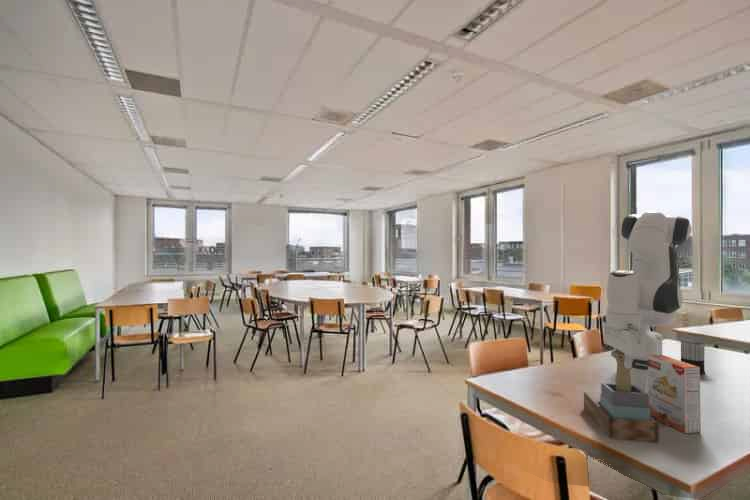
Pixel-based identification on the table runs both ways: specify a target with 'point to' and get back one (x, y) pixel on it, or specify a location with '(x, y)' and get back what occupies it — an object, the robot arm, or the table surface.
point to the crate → (625, 402)
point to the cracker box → (674, 393)
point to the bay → (621, 424)
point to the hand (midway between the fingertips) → (623, 365)
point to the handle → (622, 373)
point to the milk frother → (693, 352)
